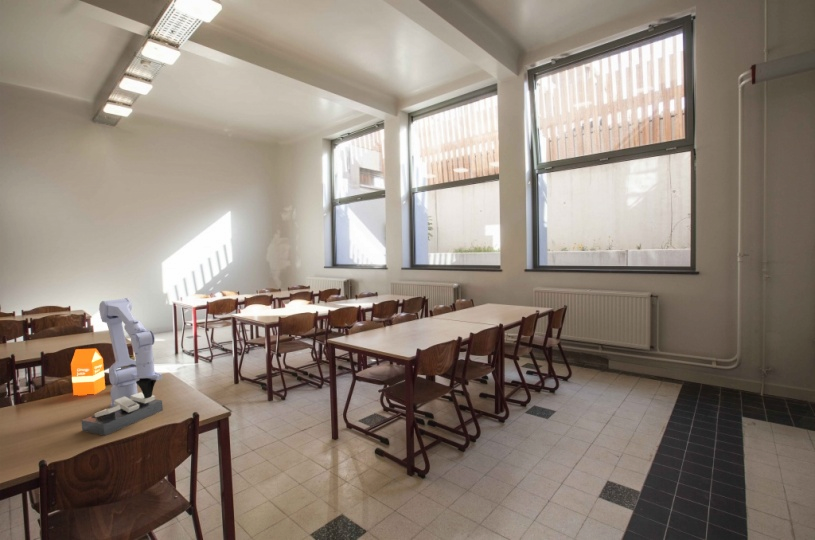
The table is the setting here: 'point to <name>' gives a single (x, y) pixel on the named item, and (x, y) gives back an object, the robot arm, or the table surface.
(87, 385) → the orange juice
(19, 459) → the table surface
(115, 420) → the grey slab
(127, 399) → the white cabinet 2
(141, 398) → the white rectangular block
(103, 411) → the rocker
